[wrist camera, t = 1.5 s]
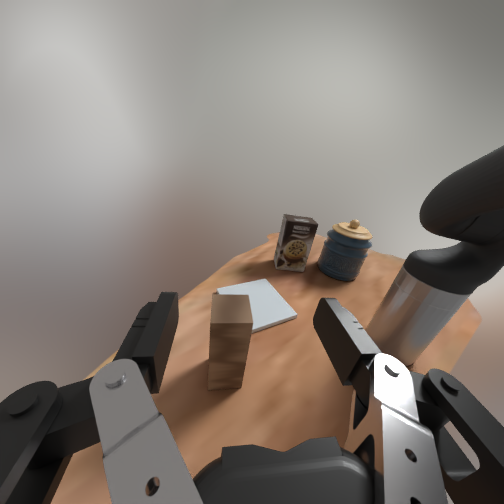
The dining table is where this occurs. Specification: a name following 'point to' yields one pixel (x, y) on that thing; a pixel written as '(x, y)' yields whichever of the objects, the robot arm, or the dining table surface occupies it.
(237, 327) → the walnut block
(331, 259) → the canister
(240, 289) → the pale pad
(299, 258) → the coffee box
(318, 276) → the dining table surface
